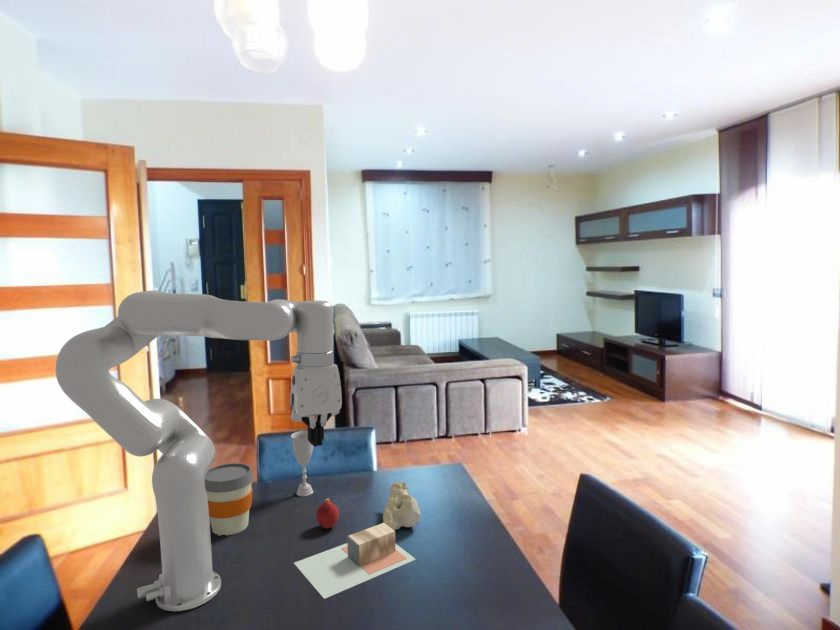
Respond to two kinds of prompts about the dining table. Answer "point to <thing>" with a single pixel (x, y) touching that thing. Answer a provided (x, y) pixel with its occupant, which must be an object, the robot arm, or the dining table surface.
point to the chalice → (302, 458)
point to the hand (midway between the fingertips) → (315, 444)
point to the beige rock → (401, 508)
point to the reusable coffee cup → (229, 497)
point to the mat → (346, 569)
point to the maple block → (371, 544)
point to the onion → (327, 514)
